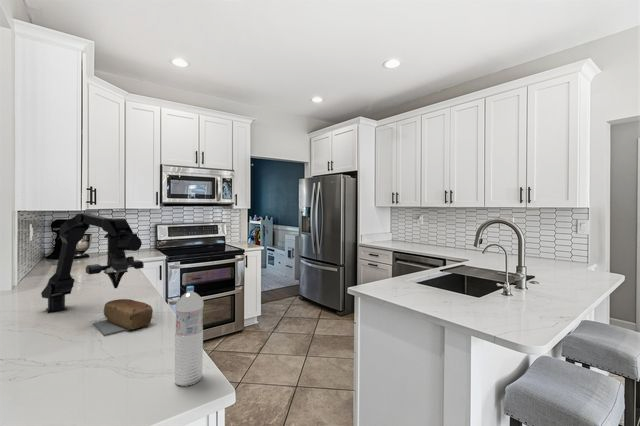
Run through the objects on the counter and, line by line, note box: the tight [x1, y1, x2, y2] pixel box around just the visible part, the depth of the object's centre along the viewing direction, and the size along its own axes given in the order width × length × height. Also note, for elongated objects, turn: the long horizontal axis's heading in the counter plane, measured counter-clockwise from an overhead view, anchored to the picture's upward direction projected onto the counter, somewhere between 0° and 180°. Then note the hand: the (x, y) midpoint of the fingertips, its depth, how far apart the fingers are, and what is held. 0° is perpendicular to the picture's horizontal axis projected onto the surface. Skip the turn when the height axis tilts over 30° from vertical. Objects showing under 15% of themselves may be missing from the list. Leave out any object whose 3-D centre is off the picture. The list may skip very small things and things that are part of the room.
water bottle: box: [174, 285, 205, 387], centre depth 81 cm, size 7×7×25 cm
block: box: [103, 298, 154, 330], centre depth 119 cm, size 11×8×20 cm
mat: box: [92, 319, 149, 337], centre depth 117 cm, size 16×14×1 cm
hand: (115, 288), depth 122 cm, fingers closed
